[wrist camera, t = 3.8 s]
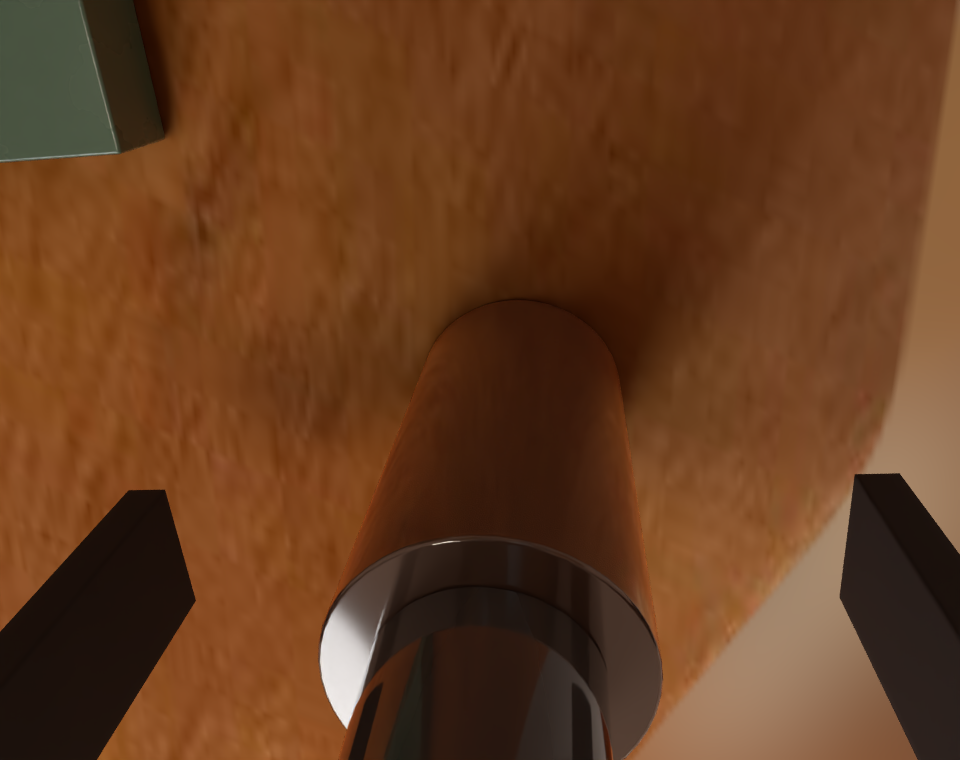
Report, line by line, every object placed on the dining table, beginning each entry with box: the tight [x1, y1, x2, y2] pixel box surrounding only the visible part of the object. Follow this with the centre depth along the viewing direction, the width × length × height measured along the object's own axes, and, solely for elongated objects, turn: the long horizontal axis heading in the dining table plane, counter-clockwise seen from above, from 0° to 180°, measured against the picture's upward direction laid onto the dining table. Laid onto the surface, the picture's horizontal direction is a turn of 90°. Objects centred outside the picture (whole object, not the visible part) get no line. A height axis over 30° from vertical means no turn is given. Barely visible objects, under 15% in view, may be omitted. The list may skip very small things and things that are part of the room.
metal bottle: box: [318, 300, 663, 760], centre depth 15 cm, size 5×5×13 cm
